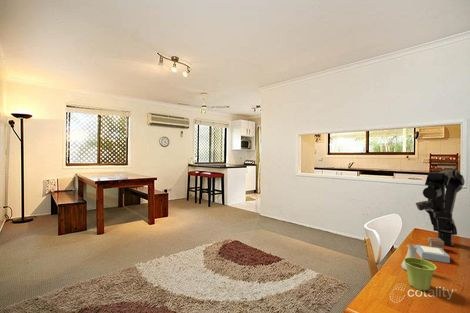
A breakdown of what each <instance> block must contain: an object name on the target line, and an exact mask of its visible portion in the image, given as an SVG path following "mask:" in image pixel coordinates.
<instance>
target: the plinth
mask: <svg viewBox="0 0 470 313" xmlns="http://www.w3.org/2000/svg"><path fill="white" fill-rule="evenodd" d="M415 246H417V249H416V253H417V255H419V258H420V259H423V260H426V261H432V262H439V263H444V264H450V263H451V256H450V255H449V254H448V253H447V252H446V251H445V249H444V250H442V249H441V248H436V247H429V246H428V245H421V244H415Z"/></svg>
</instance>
